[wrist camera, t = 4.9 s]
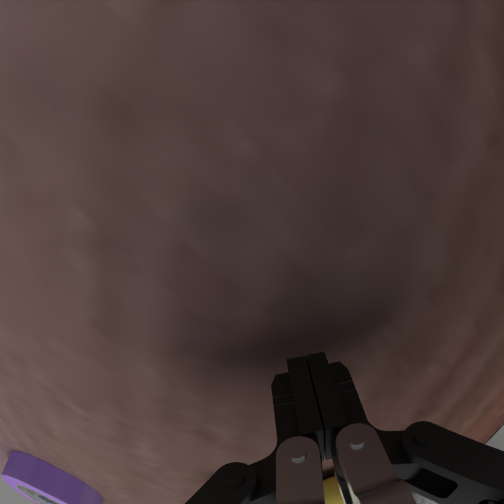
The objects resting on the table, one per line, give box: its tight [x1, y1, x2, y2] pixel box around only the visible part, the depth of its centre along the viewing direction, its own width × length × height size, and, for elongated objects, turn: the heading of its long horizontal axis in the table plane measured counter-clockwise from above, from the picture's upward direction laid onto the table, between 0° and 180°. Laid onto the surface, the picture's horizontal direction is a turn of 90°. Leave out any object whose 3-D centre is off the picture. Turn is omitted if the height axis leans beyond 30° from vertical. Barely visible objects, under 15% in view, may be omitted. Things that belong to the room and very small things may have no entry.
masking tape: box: [2, 451, 102, 504], centre depth 20 cm, size 12×12×4 cm
